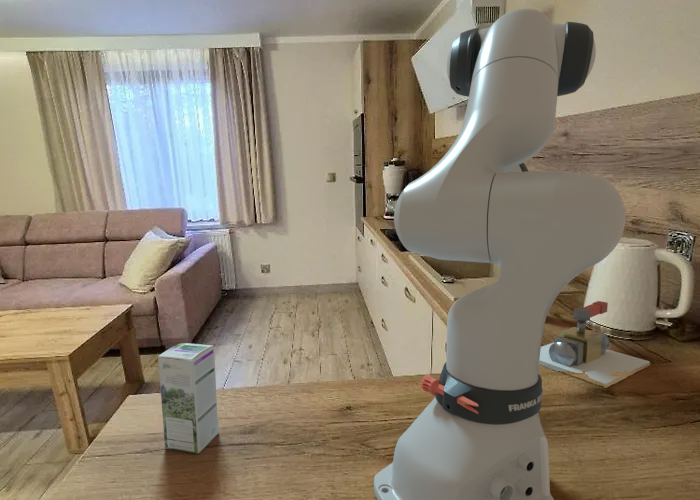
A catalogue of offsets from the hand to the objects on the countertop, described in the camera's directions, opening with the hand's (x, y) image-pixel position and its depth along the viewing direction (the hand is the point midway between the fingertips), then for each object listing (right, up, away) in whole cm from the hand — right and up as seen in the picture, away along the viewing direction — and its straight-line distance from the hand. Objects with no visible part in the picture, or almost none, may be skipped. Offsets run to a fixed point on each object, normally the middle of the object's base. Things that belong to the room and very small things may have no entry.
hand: (538, 266), depth 98 cm
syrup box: (-71, -25, -39) cm, 84 cm away
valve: (+4, -21, -10) cm, 23 cm away
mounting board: (+5, -21, -10) cm, 24 cm away
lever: (+8, -11, -8) cm, 16 cm away
